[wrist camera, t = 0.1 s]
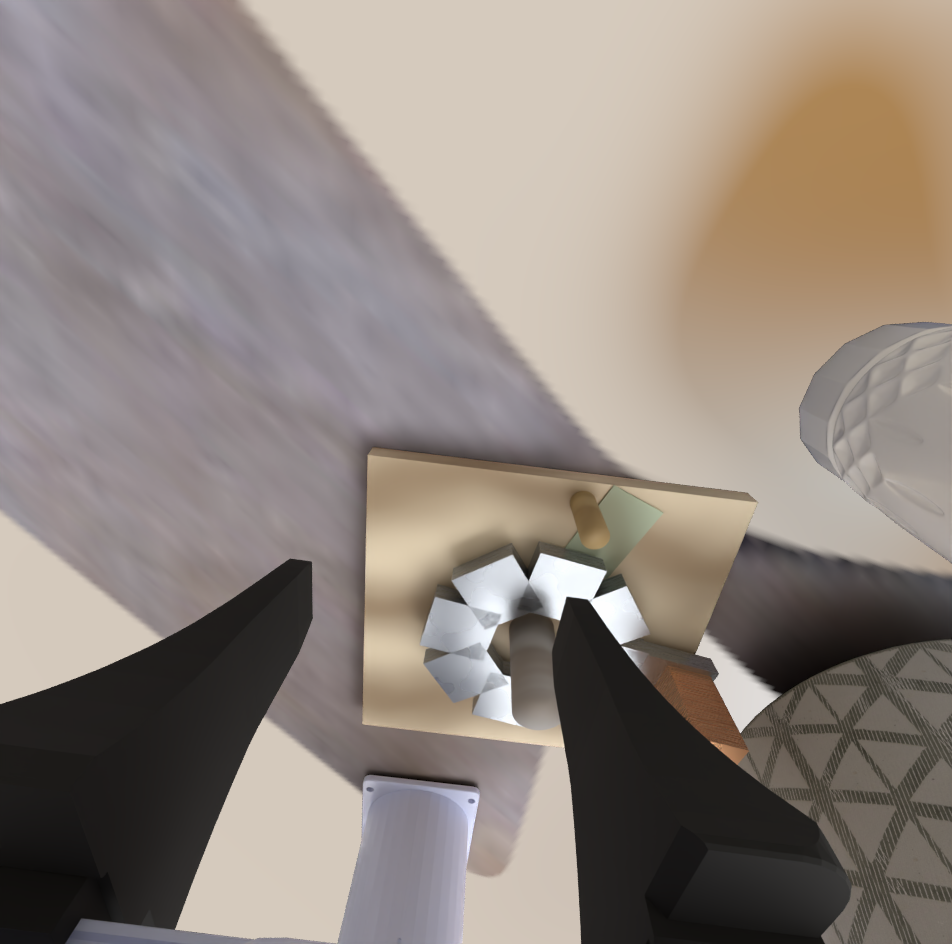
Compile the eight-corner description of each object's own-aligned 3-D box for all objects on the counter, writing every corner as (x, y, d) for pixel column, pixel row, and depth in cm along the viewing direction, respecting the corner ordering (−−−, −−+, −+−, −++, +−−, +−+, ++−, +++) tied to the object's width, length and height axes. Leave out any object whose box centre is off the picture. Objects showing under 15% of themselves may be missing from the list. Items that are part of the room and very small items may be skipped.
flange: (405, 682, 26) (386, 769, 22) (458, 518, 22) (448, 585, 17) (652, 743, 28) (683, 838, 23) (750, 600, 23) (813, 683, 18)
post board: (647, 742, 30) (681, 851, 24) (366, 710, 29) (336, 811, 24) (747, 492, 22) (829, 567, 17) (373, 446, 22) (331, 507, 17)
